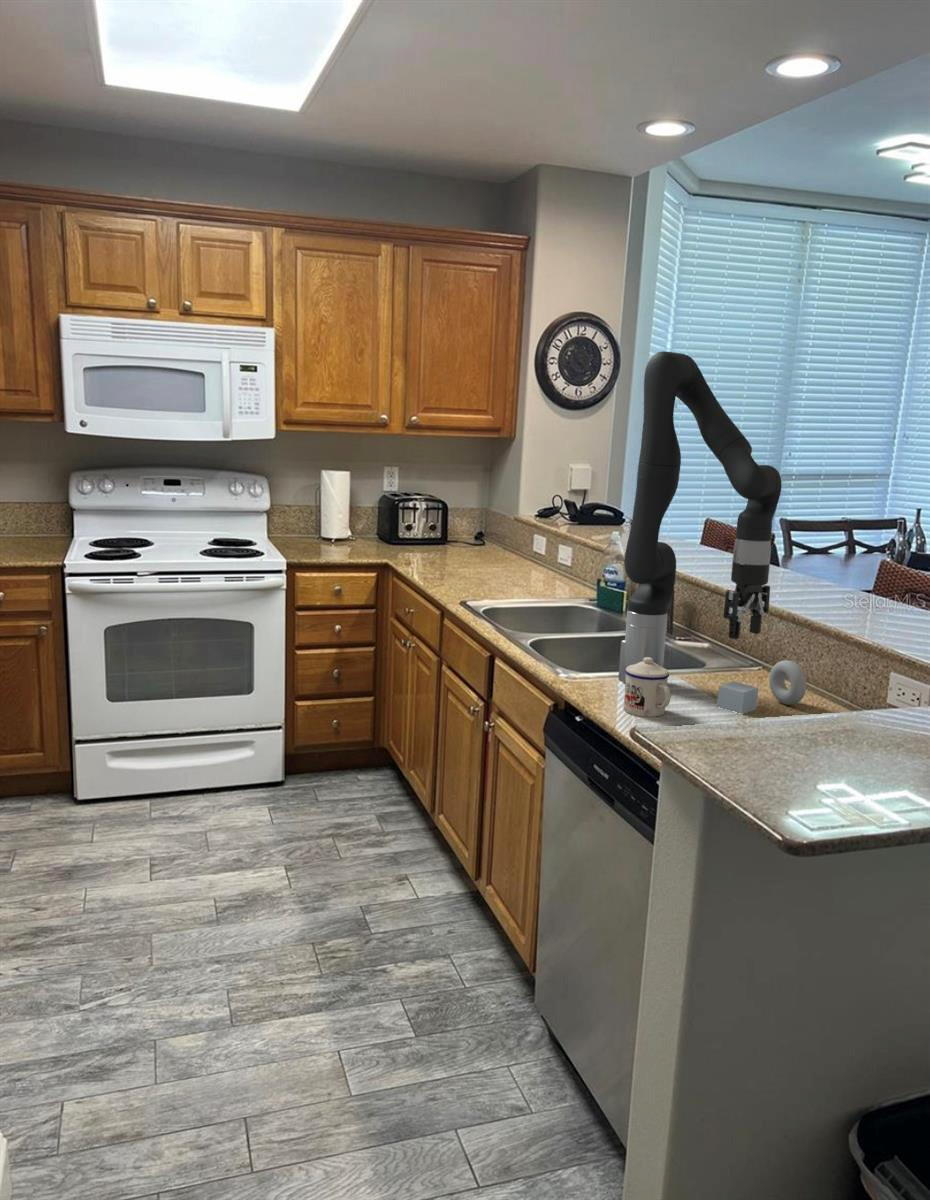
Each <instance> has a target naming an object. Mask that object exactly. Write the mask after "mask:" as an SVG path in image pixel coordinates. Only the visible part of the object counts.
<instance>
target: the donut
mask: <svg viewBox="0 0 930 1200" xmlns="http://www.w3.org/2000/svg"><path fill="white" fill-rule="evenodd" d="M786 676H787V678H788V679H789V682H790V684H789V685H790V686H789V688H788V687H787V686H786ZM768 683H769V689H770V691H771V693H772V695H773V697H774V698H775V699H776V701H778V702H779V703H781V704H783V705H787V706H792V705H793V706H794V705H797V704H799V702H801V701H802V700H803V699H804V697H805V695H806V692H807V688H808V687H807V678H806V674H805V672H804V671H803V669H802V667H801V666H800V665H799V664H798V663H796V662H794V661H793V660H788V659H787V660H786V659H784V660H781V661H778V662H776V663H775V664H774V665H773V666H772V668H771V670H770V673H769V678H768Z"/></svg>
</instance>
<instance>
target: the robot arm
mask: <svg viewBox="0 0 930 1200" xmlns="http://www.w3.org/2000/svg"><path fill="white" fill-rule="evenodd" d="M643 377H644V378H643V379H644V380H643V420H642V428H641V429H642V430H641V438H640V439H641V442H640V451H639V458H638V463H637V464H638V466H637V473H636V475H637V476H636V487H635V496H634V503H633V510H632V511H633V512H632V519H631V524H630V530H629V534H628V539H627V543H626V548H625V553H624V560H623V563H624V564H623V565H624V570H625V574H626V576H627V577H628V579H629V580H630V581H631V582H632V583H635V584H639V585H638V588H637V589H636V591H635V592H634V593H633V594H632V595H631V596H630V597H629V598H628V600H627V607H626V609H627V611H626V621H625V624H626V625H625V635H624V636H625V638H624V639H623V640H621V642H620V655H619V665H618V677H617V678H618V681H621V682H622V683H623V684H625V682H626V673H625V670H626V668H627V667H628V666H630V665H634V664H637V663H639V662H643V659H644V658H645V657H649V658H652V659H653V663H656V664H657V665H659V666H660V667H663V668H664V660H665V647H666V646H665V645H666V635H667V623H668V622H667V621H668V610H669V606H670V604H671V602H672V599H673V596H674V589H675V581H676V573H677V558H676V554H675V551H674V550H673V548H672V547H671V546H670V545H669V544H668V543H666V542H662V541H659V535H660V530H661V529H660V528H661V525H662V521H663V519H664V517H665V514H666V513H667V511H668V509H669V507H670V504H671V503H672V501H673V499H674V497H675V494H676V492H677V490H678V487H679V480H680V472H681V464H682V454H681V450H680V449H681V448H680V444H679V440H678V436H677V433H676V429H675V422H674V412H675V405H676V404H675V403H676V398H677V399H678V400H679V401H681V402H682V403H683V404H684V405H685V406H686V407H687V408H688V410H689V411H690V412H691V413H692V415H693V416H694V419H695V421H696V423H697V426H698V430H699V432H700V435H701V437H702V439H703V441H704V442H705V444H706V446H707V447H708V448H709V450H710V451H711V452H712V454H713V455H714V457H715V458H717V460H718V461H719V463H720V464H721V465H722V466H723V468H724V469H723V470H724V472H725V474H726V476H727V478H728V480H729V482H730V484H731V486H732V488H733V489H734V490H735V492H736V493H738V494H739V496H740V497H742V498H744V499H747V502H746V503H747V504H746V507H745V509H744V510H743V511H741V512H740V513H739V514H738V517H737V522H736V529H735V530H736V533H735V542H734V546H733V550H732V551H733V553H732V564H731V565H732V566H731V574H730V580H731V582H733V583H734V584H736V586H735V589H734V590H733V589H732V590H731V589H727V590H726V592H725V599H724V609H723V619H727V620H728V621H729V627H728V638H730V639H734V640H738V639H740V635H741V624H742V622H741V620H742V618H743V616H744V615H745V614H746V613H748V610H749V611H750V614H751V616H750V623H749V633H751V634H755V635H758V634H760V633H761V631H762V630H761V629H762V628H761V627H762V619H763V617H764V615H765V613H769V610H770V594H771V593H770V592H771V586H770V585H767V584H768V582H769V576H770V575H769V574H770V565H771V554H772V551H771V549H772V548H771V547H772V546H771V543H772V542H771V540H772V539H771V538H772V531H773V530H772V528H773V519H774V516H775V514H776V511H777V506H778V503H779V501H780V496H781V493H782V486H783V485H782V477H781V475H780V473H779V471H778V469H777V468H775V467H774V466H772V465H768V464H766V465H765V464H758V463H757V462H756V461H755V459H754V458H753V456H752V452H753V448H752V445H751V443H750V441H748V439H747V438H746V436H744V434H743V433H742V431H740V429H739V427H738V426H737V425H736V424H735V423H734V422H733V420H732V419H731V418H730V416H728V414H727V412H725V410H724V408H723V407H722V406H721V404H720V402H719V401H718V399H717V398H716V396H715V394H714V393H713V391H712V389H711V387H710V386H709V384H708V383H707V380H706V379H705V377H704V375H703V373H702V371H701V368H699V366H698V365H697V362H696V361H695V359H693V358H692V357H691V356H689V355H687V354H684V353H681V352H673V351H666V350H665V351H659V352H655V354H653V355H652V356H651V357H650V359H649V360H648V362H647V364H646V367H645V369H644V376H643Z"/></svg>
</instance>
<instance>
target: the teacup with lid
mask: <svg viewBox="0 0 930 1200" xmlns="http://www.w3.org/2000/svg"><path fill="white" fill-rule="evenodd" d="M625 673H626V682H625V683H624V684H625V685H624V695H623V696H624V698H623V710H624V711H625V712H626V713H628V714H629V713H630V714H629V715H632V716H636V717H640V718H641V717H642V718H656V716H658V717H661V716H663V715H664V714H665V712H666V707H668V706H669V704H670V702H671V699H672V693H671V689H670V688H669V687H668V679H669V677H670V674H669V670H668V669H666V668H664V666H663V667H660V666H659V665H657V664H656V663H653V659H652V658H649V657H645V658H644V659H643V662H639V663H637V664H634V665H630V666H628V667H627V668H626V670H625Z"/></svg>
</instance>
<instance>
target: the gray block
mask: <svg viewBox="0 0 930 1200" xmlns="http://www.w3.org/2000/svg"><path fill="white" fill-rule="evenodd" d="M717 692H718V693H717V700H716V701H717V704H716V708H717V707H720V708H723V709H722V710H724V709H727V710H730V711H729V712H731V711H735V712H737V713H736V714H738V713H741V714H742V713H745V714H747V713H750V712H753V711H756V710H757V703H758V693H759V687H757V686H752V685H748V684H744V683H741V682H738V681H731V682H728V683H725V684H720V685H718V691H717ZM720 708H719V709H720ZM755 709H756V710H755ZM727 710H726V711H727ZM752 710H753V711H752ZM749 711H750V712H749ZM741 714H740V715H741ZM742 715H743V714H742Z"/></svg>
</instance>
